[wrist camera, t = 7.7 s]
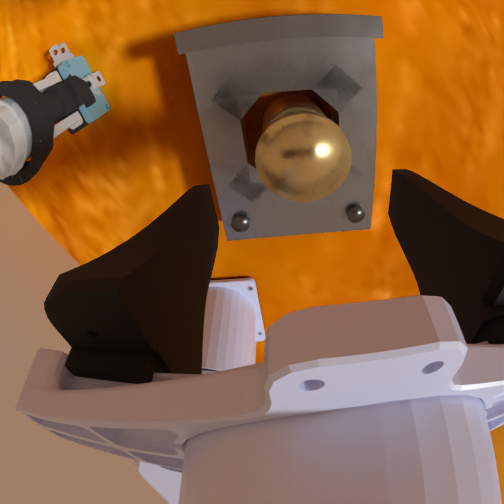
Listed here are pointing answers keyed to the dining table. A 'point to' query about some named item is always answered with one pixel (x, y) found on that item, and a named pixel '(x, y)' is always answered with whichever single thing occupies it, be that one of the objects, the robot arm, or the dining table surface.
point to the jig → (279, 80)
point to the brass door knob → (301, 150)
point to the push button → (46, 113)
